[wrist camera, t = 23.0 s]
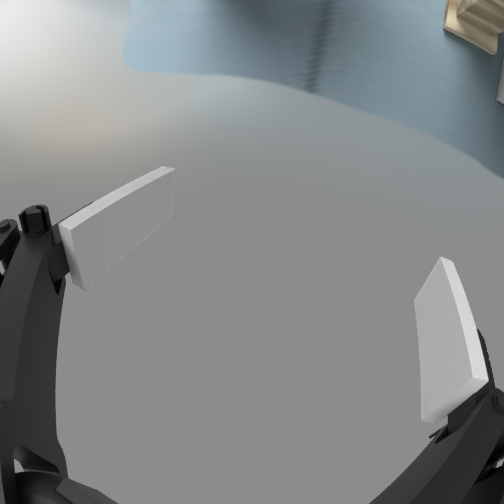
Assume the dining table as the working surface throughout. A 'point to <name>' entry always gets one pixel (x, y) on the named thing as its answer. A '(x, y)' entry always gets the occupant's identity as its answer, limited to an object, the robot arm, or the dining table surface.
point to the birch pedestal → (476, 21)
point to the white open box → (501, 86)
